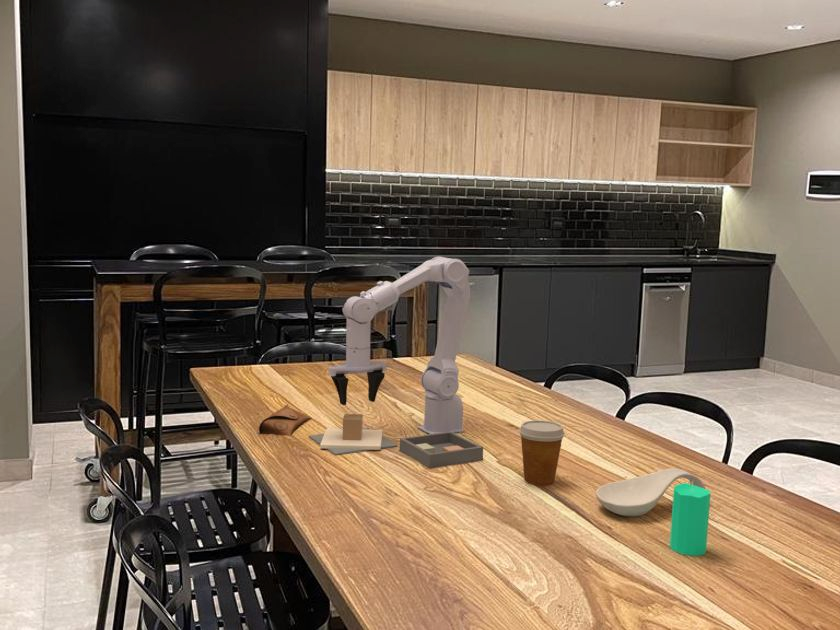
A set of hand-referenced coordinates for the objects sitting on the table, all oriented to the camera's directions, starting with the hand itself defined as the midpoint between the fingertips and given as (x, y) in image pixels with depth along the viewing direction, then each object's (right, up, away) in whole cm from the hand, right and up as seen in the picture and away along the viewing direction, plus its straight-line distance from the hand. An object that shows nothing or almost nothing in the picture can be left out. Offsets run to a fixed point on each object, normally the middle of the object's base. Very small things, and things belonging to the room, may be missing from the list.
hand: (357, 402), depth 201 cm
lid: (-1, -9, -1) cm, 9 cm away
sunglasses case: (-19, -8, +12) cm, 24 cm away
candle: (+61, -19, -57) cm, 86 cm away
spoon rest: (+60, -17, -38) cm, 73 cm away
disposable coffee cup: (+40, -14, -25) cm, 49 cm away
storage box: (+20, -11, -9) cm, 24 cm away
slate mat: (-1, -9, 0) cm, 10 cm away
